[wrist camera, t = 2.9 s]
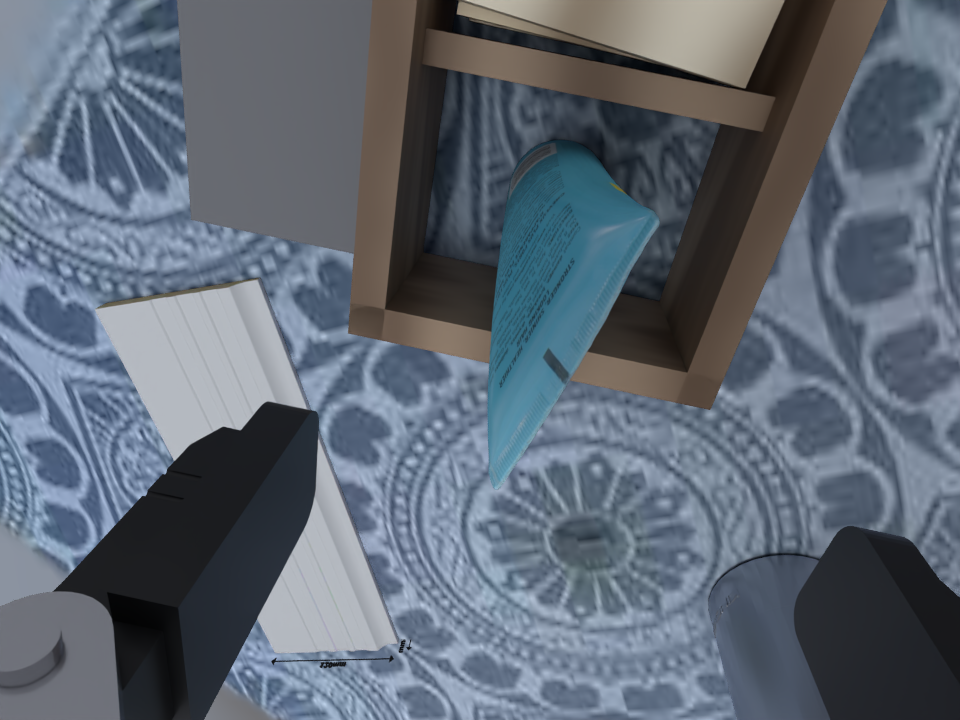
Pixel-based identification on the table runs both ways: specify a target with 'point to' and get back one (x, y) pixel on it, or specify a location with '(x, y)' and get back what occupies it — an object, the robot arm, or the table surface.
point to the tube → (554, 286)
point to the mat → (276, 115)
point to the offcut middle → (530, 28)
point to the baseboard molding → (231, 403)
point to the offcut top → (661, 30)
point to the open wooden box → (741, 111)
